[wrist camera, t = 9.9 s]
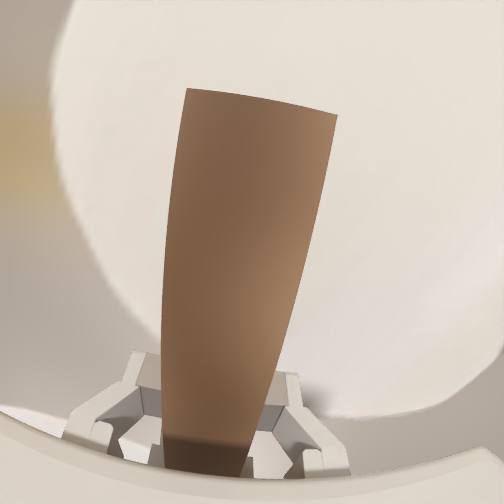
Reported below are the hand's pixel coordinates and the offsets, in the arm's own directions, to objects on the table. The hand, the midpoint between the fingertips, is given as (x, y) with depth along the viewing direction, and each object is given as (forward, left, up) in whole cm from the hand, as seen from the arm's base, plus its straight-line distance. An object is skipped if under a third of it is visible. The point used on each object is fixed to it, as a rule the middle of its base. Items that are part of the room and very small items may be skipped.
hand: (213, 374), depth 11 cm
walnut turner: (0, 0, -2) cm, 2 cm away
